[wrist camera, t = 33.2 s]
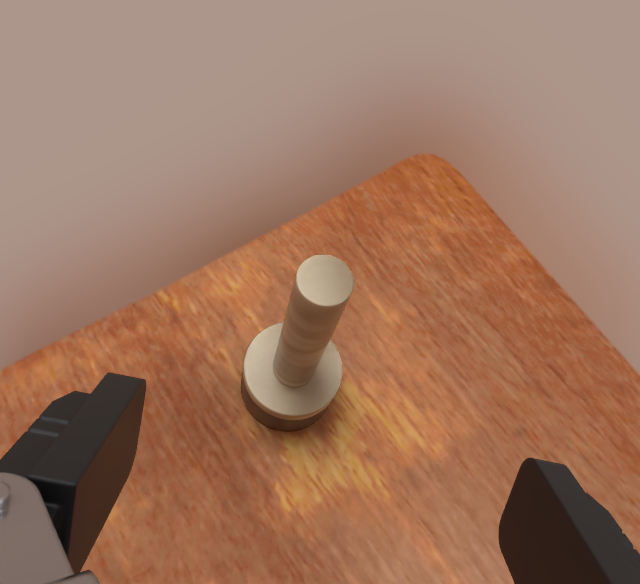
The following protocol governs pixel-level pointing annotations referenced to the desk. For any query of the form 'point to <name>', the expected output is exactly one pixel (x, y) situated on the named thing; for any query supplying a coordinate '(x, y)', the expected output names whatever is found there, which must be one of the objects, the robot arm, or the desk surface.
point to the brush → (299, 350)
